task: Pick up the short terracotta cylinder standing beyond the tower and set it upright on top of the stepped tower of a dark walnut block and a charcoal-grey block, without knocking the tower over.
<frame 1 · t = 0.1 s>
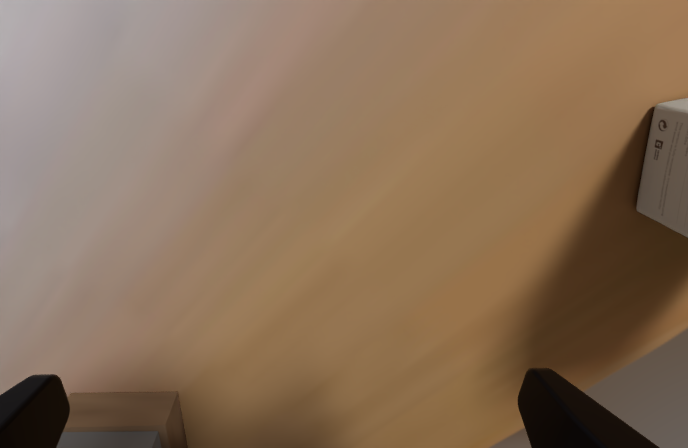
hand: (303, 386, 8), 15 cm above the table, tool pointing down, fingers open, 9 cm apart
walnut block: (135, 422, 29), on the table, touching grey block
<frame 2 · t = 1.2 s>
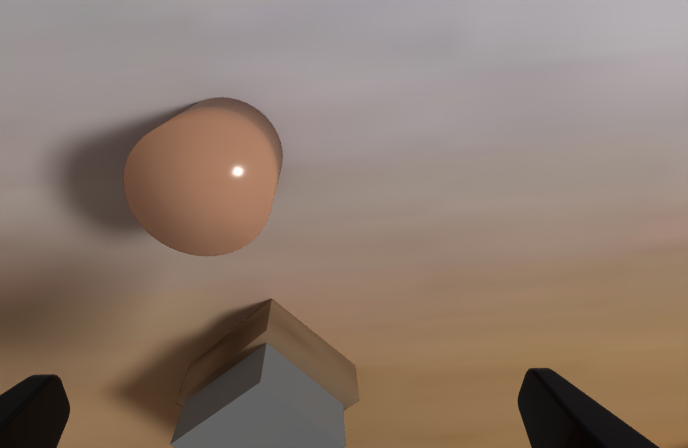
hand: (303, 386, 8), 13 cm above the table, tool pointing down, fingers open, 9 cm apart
grey block: (265, 402, 22), point 3 cm above the table
terracotta cylinder: (227, 153, 18), on the table
walnut block: (274, 360, 25), on the table
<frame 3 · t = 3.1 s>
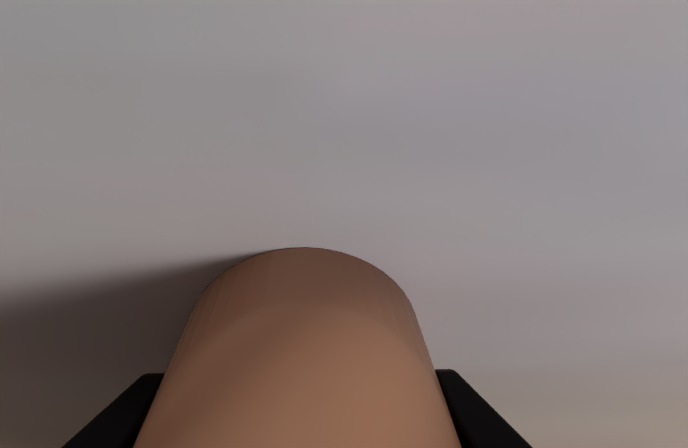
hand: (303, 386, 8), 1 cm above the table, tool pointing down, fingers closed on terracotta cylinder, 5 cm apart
terracotta cylinder: (305, 347, 9), on the table, touching gripper
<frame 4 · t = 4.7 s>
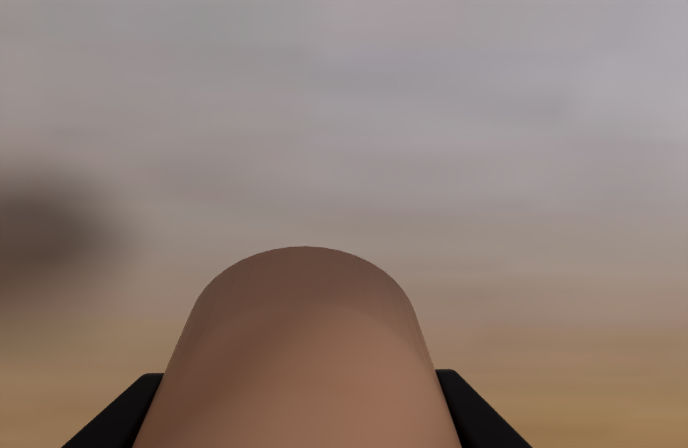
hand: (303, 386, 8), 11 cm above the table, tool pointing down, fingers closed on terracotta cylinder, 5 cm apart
terracotta cylinder: (304, 346, 9), point 10 cm above the table, touching gripper
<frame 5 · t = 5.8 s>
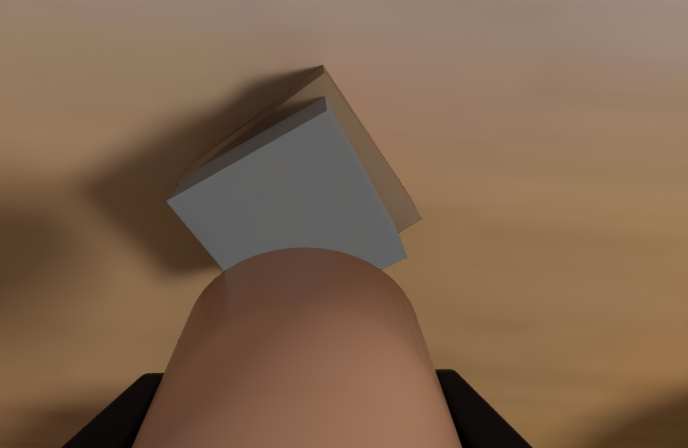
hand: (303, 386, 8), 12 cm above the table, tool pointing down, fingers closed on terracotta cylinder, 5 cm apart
grey block: (296, 201, 16), point 3 cm above the table, touching walnut block
terracotta cylinder: (304, 347, 9), point 11 cm above the table, touching gripper
walnut block: (305, 175, 19), on the table, touching grey block
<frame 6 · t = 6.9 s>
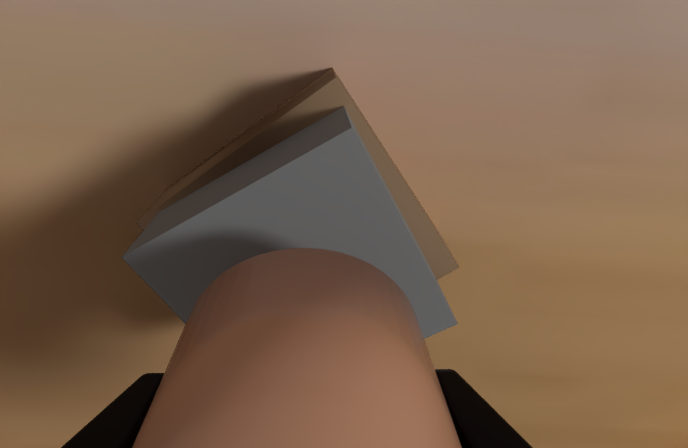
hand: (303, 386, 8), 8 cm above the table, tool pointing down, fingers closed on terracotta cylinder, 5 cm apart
grey block: (304, 243, 12), point 3 cm above the table, touching walnut block
terracotta cylinder: (304, 348, 9), point 7 cm above the table, touching gripper
walnut block: (308, 206, 15), on the table, touching grey block
when the fingers open (7 cm above the table, at t = 7.3 s): terracotta cylinder drops 1 cm, resting on grey block.
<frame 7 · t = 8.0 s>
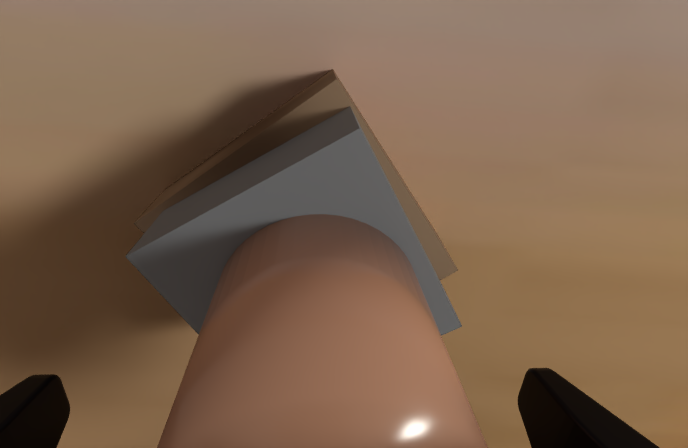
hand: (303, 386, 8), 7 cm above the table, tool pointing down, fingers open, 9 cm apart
grey block: (308, 244, 12), point 3 cm above the table, touching terracotta cylinder, walnut block
terracotta cylinder: (319, 304, 10), point 5 cm above the table, touching grey block
walnut block: (307, 207, 15), on the table, touching grey block
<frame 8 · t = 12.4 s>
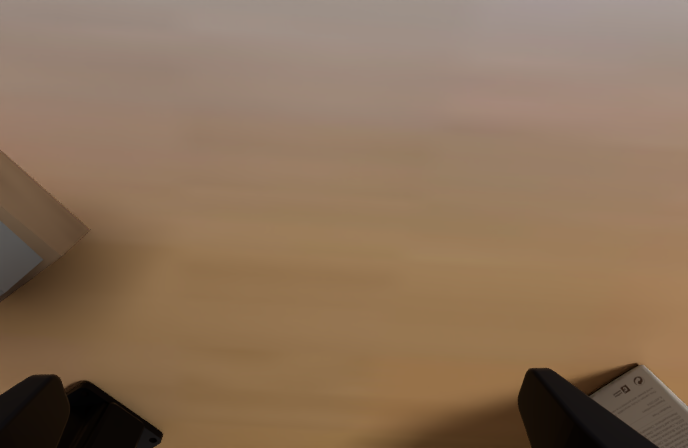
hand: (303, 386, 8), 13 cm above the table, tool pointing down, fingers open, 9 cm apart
skincare box: (628, 408, 29), on the table
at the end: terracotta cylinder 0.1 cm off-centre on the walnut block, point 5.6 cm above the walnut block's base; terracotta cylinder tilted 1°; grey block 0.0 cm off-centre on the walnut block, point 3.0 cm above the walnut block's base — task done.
